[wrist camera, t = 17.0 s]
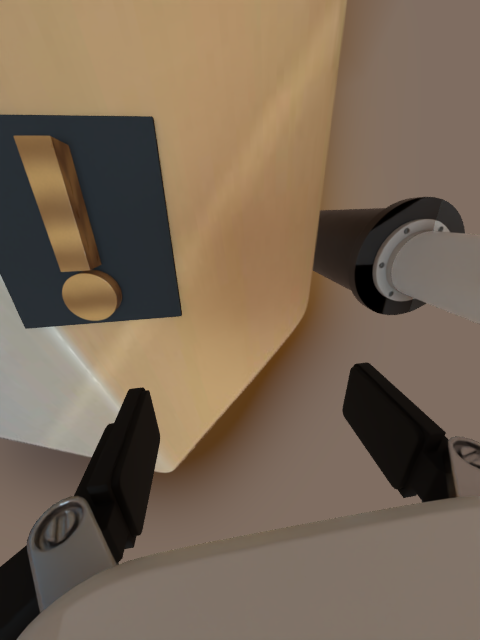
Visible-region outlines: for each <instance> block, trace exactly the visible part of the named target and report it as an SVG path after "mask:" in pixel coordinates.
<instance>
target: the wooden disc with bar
mask: <svg viewBox="0 0 480 640" xmlns="http://www.w3.org/2000/svg"><path fill="white" fill-rule="evenodd" d="M14 139H15V142H16V145H17V148H18V151H19V154H20V156H21V159H22V162H23V165H24V168H25V171H26V173H27V176H28V179H29V182H30V185H31V188H32V191H33V193H34V196H35V199H36V202H37V205H38V208H39V211H40V213H41V216H42V219H43V222H44V225H45V228H46V230H47V233H48V236H49V239H50V242H51V245H52V248H53V250H54V253H55V256H56V259H57V262H58V265H59V267H60V270H61V272H71V271H82V272H80V273H78V274H75V275H73V276H71V277H70V278H69V279H67V281H66V282H65V283H64V285H63V289H62V296H63V300H64V302H65V304H66V306H67V307H68V308H69V310H70V311H71V312H73V313H74V314H75V315H77V316H79V317H81V318H83V319H86V320H91V321H98V320H103V319H106V318H108V317H109V316H111V315H112V314H113V313H114V312H115V311H116V309H117V308H118V307H119V306H120V304H121V301H122V292H121V289H120V287H119V285H118V283H117V282H116V281H115V280H114V279H113V278H112V277H111V276H110V275H108V274H106V273H104V272H101V271H98V270H92V269H94V268H96V267H98V266H100V265H101V261H100V257H99V254H98V250H97V246H96V243H95V239H94V235H93V232H92V228H91V224H90V221H89V217H88V214H87V210H86V206H85V203H84V199H83V195H82V192H81V188H80V184H79V181H78V177H77V174H76V170H75V166H74V163H73V159H72V155H71V152H70V148H69V145H67V144H65V143H63V142H61V141H59V140H57V139H55V138H53V137H51V136H14Z"/></svg>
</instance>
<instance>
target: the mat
mask: <svg viewBox="0 0 480 640" xmlns="http://www.w3.org/2000/svg"><path fill="white" fill-rule="evenodd" d="M14 136H51V137H53V138H55V139H57V140H59V141H61V142H63V143H65V144H67V145H69V148H70V152H71V155H72V159H73V163H74V166H75V170H76V174H77V177H78V181H79V184H80V188H81V192H82V195H83V199H84V203H85V206H86V210H87V214H88V217H89V221H90V224H91V228H92V232H93V235H94V239H95V243H96V246H97V250H98V254H99V257H100V261H101V265H100V266H98V267H96V268H94V269H92V270H98V271H101V272H104V273H106V274H108V275H110V276H111V277H112V278H113V279H114V280H115V281H116V282H117V283H118V285H119V287H120V289H121V292H122V301H121V304H120V306H119V307H118V308H117V309H116V311H115V312H114V313H113V314H112V315H111V316H109V317H108V318H106V319H103V320H98V321H91V320H86V319H83V318H81V317H79V316H77V315H75V314H74V313H73V312H71V311H70V310H69V308H68V307H67V306H66V304H65V302H64V300H63V296H62V289H63V285H64V283H65V282H66V281H67V279H69V278H70V277H71V276H73V275H75V274H78V273H80V272H82V271H71V272H61V270H60V267H59V265H58V262H57V259H56V256H55V253H54V250H53V248H52V245H51V242H50V239H49V236H48V233H47V230H46V228H45V225H44V222H43V219H42V216H41V213H40V211H39V208H38V205H37V202H36V199H35V196H34V193H33V191H32V188H31V185H30V182H29V179H28V176H27V173H26V171H25V168H24V165H23V162H22V159H21V156H20V154H19V151H18V148H17V145H16V142H15V139H14ZM0 274H1V276H2V279H3V281H4V283H5V285H6V287H7V289H8V292H9V294H10V296H11V298H12V300H13V302H14V305H15V307H16V309H17V311H18V313H19V316H20V318H21V320H22V322H23V324H24V326H25V328H39V327H51V326H64V325H76V324H89V323H101V322H114V321H126V320H139V319H151V318H164V317H176V316H181V315H182V313H181V306H180V299H179V292H178V285H177V278H176V271H175V264H174V258H173V251H172V244H171V237H170V230H169V223H168V216H167V209H166V202H165V196H164V189H163V182H162V175H161V168H160V161H159V154H158V147H157V140H156V133H155V127H154V120H153V117H141V116H62V115H0Z"/></svg>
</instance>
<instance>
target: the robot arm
mask: <svg viewBox="0 0 480 640" xmlns="http://www.w3.org/2000/svg"><path fill="white" fill-rule="evenodd" d="M372 275H373V282H374V284H375V287H376V289H377V290H378V292H379V293H381V294H382V295H383V296H385V297H387V298H389V299H391V300H394V301H408V300H412V299H418V300H420V301H423V302H425V303H428V304H430V305H433V306H435V307H438V308H440V309H443V310H445V311H448V312H450V313H453V314H455V315H458V316H460V317H463V318H465V319H468V320H470V321H473V322H475V323H478V324H480V235H478V234H465V233H451V232H450V231H449V230H448V228H447V227H446V226H445V225H444V224H442V223H441V222H439V221H436V220H434V219H417V220H413V221H410V222H407V223H405V224H403V225H401V226H400V227H399V228H397V229H396V230H394V231H393V232H392V233H391V234H390V235H389V236H388V237H387V238H386V240H385V241H384V242H383V243H382V245H381V247H380V248H379V250H378V252H377V255H376V257H375V260H374V264H373V272H372ZM343 415H344V417H345V419H346V420H347V421H348V423H349V424H350V426H351V427H352V429H353V430H354V432H355V433H356V435H357V436H358V437H359V439H360V440H361V442H362V443H363V445H364V446H365V448H366V449H367V450H368V452H369V453H370V455H371V456H372V458H373V459H374V461H375V462H376V464H377V465H378V466H379V468H380V469H381V471H382V472H383V474H384V475H385V477H386V478H387V480H388V481H389V482H390V484H391V485H392V487H394V488H395V489H398V491H399V492H400V494H401V495H402V496H403V498H406V497H411V496H416V495H418V496H419V497H420V499H421V500H422V503H417V504H411V505H405V506H400V507H394V508H389V509H383V510H378V511H372V512H367V513H361V514H356V515H351V516H345V517H339V518H334V519H329V520H323V521H318V522H313V523H307V524H302V525H297V526H291V527H286V528H281V529H275V530H270V531H265V532H260V533H255V534H250V535H244V536H239V537H234V538H229V539H224V540H219V541H213V542H208V543H203V544H198V545H194V546H189V547H184V548H180V549H175V550H170V551H166V552H161V553H156V554H153V555H149V556H145V557H141V558H138V559H134V560H130V561H127V562H124V563H122V564H119V563H118V562H119V561H120V560H121V559H122V557H123V552H124V549H127V548H133V547H134V544H135V540H136V536H137V535H140V534H141V532H142V529H143V524H144V519H145V514H146V509H147V504H148V499H149V494H150V489H151V484H152V479H153V474H154V469H155V464H156V459H157V454H158V449H159V444H160V433H159V429H158V424H157V420H156V416H155V412H154V408H153V404H152V400H151V396H150V392H149V390H147V391H145V389H144V388H134V389H129V391H128V393H127V395H126V397H125V399H124V402H123V404H122V406H121V409H120V411H119V413H118V416H117V418H116V420H115V422H114V423H112V424H109V425H107V427H106V428H105V430H104V433H103V435H102V437H101V439H100V441H99V443H98V445H97V448H96V450H95V452H94V454H93V456H92V458H91V461H90V463H89V465H88V467H87V469H86V471H85V473H84V476H83V478H82V480H81V482H80V484H79V486H78V488H77V491H76V493H75V495H74V496H71V497H68V498H66V499H63V500H61V501H59V502H57V503H56V504H54V505H52V506H51V507H50V508H49V509H48V510H47V511H45V512H44V513H43V515H42V516H41V517H40V518H39V519H38V520H37V521H36V523H35V524H34V526H33V528H32V529H31V531H30V534H29V537H28V540H27V545H26V546H25V547H24V548H23V549H22V550H21V551H19V552H18V553H17V554H16V555H14V556H13V557H12V558H11V559H9V560H8V561H7V562H6V563H5V564H3V565H2V566H1V567H0V640H480V443H479V442H477V441H474V440H472V439H469V438H465V437H452V438H450V439H449V440H448V439H447V438H446V437H445V431H443V430H442V429H441V428H440V427H439V426H438V425H437V424H436V423H435V422H434V421H432V420H431V419H430V418H429V417H428V416H427V415H426V414H425V413H424V412H422V411H421V410H420V409H419V408H418V407H417V406H416V405H415V404H414V403H413V402H411V401H410V400H409V399H408V398H407V397H406V396H405V395H404V394H403V393H402V392H400V391H399V390H398V389H397V388H396V387H395V386H394V385H393V384H391V383H390V382H389V381H388V380H387V379H386V378H385V377H384V376H383V375H382V374H380V373H379V372H378V371H377V370H376V369H375V368H374V367H373V366H372V365H370V364H369V363H360V364H355V365H354V366H353V367H352V368H351V370H350V375H349V380H348V385H347V390H346V395H345V399H344V404H343Z"/></svg>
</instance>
